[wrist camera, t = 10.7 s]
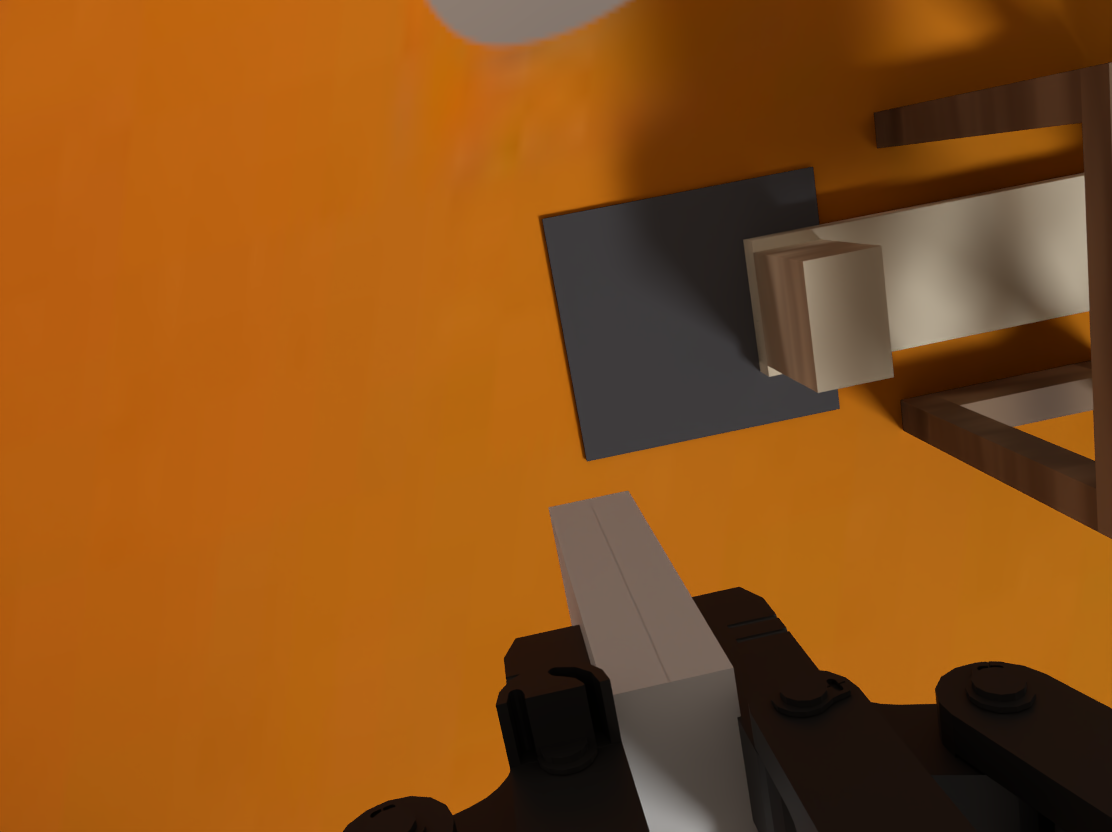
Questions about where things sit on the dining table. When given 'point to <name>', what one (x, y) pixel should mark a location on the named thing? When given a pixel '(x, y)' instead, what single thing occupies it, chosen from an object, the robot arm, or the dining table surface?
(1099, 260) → the tunnel
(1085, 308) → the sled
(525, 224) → the dining table surface
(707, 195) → the dark grey square plate
